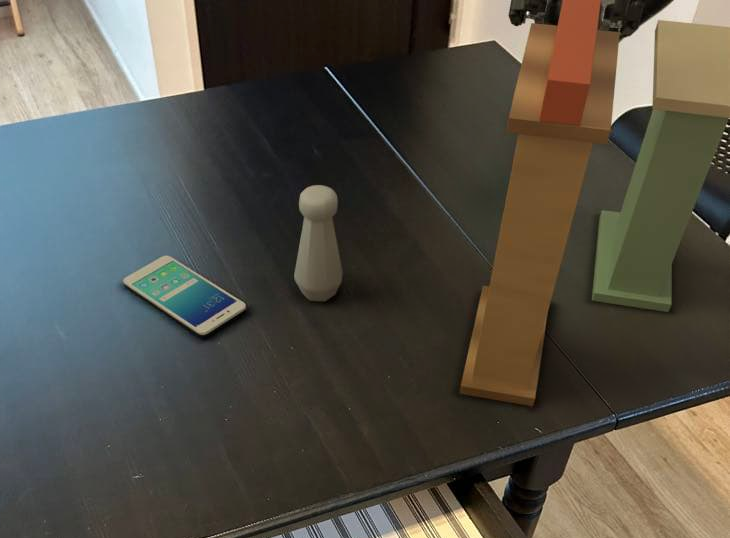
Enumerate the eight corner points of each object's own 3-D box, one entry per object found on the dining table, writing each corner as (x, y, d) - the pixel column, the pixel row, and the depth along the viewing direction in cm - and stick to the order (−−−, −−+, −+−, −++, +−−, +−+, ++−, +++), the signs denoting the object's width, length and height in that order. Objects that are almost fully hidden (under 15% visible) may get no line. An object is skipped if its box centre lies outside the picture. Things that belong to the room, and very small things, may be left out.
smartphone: (166, 253, 103) (249, 305, 97) (167, 259, 104) (249, 310, 98) (119, 280, 100) (201, 335, 94) (121, 286, 101) (202, 341, 95)
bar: (565, -18, 81) (573, -56, 79) (598, -14, 81) (607, -53, 78) (538, 121, 65) (547, 79, 63) (579, 126, 65) (590, 84, 62)
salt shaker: (288, 300, 99) (284, 201, 89) (303, 273, 103) (300, 173, 92) (334, 310, 98) (336, 210, 88) (348, 281, 101) (351, 182, 91)
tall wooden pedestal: (481, 293, 100) (531, 22, 76) (547, 303, 99) (619, 32, 75) (459, 393, 90) (508, 117, 66) (533, 406, 89) (610, 130, 64)
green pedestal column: (599, 217, 110) (658, 19, 90) (668, 227, 108) (743, 28, 89) (591, 300, 99) (656, 96, 80) (668, 312, 98) (752, 108, 79)
